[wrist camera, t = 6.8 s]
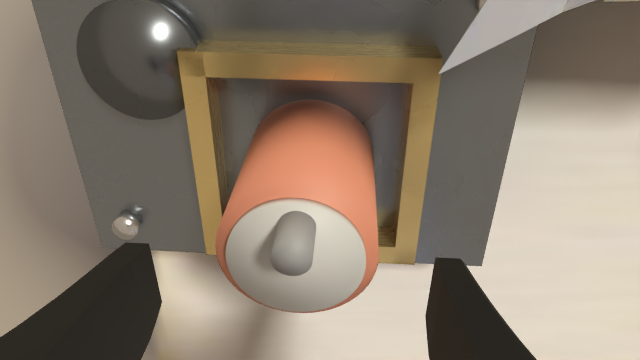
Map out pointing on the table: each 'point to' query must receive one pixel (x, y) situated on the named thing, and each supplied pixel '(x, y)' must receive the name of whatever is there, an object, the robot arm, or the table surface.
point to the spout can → (303, 211)
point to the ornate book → (505, 24)
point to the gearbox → (271, 93)
